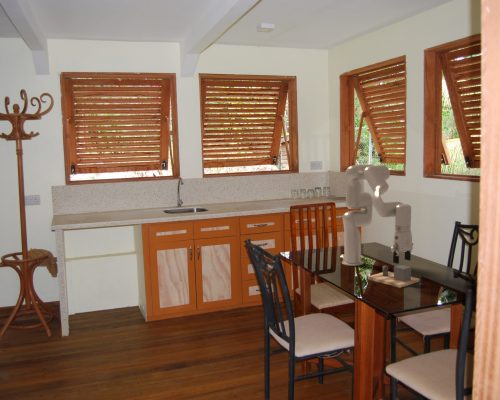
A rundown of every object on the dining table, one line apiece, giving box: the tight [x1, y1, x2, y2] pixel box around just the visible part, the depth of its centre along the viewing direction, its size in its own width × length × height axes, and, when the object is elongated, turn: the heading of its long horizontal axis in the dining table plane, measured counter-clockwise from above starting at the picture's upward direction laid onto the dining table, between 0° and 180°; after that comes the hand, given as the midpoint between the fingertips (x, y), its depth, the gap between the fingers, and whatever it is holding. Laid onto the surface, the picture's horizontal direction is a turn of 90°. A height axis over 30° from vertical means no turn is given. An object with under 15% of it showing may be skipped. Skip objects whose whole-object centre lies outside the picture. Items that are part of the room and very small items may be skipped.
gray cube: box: [393, 264, 412, 282], centre depth 247 cm, size 6×6×6 cm
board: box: [367, 265, 420, 289], centre depth 252 cm, size 20×16×6 cm
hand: (401, 261), depth 247 cm, fingers open, 9 cm apart
